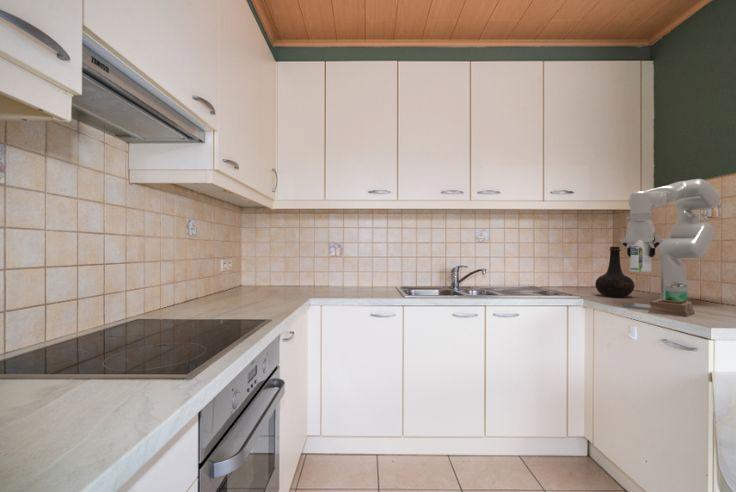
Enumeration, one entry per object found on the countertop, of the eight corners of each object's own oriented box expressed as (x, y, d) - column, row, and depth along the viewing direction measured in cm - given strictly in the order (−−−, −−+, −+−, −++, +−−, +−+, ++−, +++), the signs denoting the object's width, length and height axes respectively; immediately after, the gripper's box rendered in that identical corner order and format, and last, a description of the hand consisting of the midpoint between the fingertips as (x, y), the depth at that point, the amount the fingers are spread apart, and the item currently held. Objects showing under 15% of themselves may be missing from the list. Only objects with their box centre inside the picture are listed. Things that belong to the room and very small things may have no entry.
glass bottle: (590, 296, 199) (589, 246, 199) (602, 293, 210) (602, 246, 210) (627, 299, 184) (627, 246, 185) (639, 296, 195) (638, 246, 195)
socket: (657, 309, 155) (657, 299, 155) (694, 313, 145) (694, 302, 145) (648, 312, 148) (648, 301, 148) (686, 316, 138) (686, 305, 138)
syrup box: (629, 271, 164) (629, 240, 164) (641, 271, 164) (641, 240, 165) (640, 272, 158) (640, 239, 159) (652, 272, 159) (652, 240, 159)
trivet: (631, 304, 169) (631, 302, 169) (660, 307, 160) (660, 305, 160) (622, 306, 163) (622, 304, 163) (652, 310, 154) (652, 308, 154)
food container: (680, 310, 157) (681, 288, 156) (664, 307, 162) (664, 286, 161) (694, 306, 162) (695, 284, 161) (678, 303, 167) (678, 282, 167)
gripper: (615, 219, 167) (615, 256, 166) (661, 216, 152) (662, 257, 152) (621, 220, 171) (621, 256, 171) (667, 217, 157) (667, 257, 157)
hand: (640, 256), depth 162 cm, fingers closed on syrup box, 7 cm apart
